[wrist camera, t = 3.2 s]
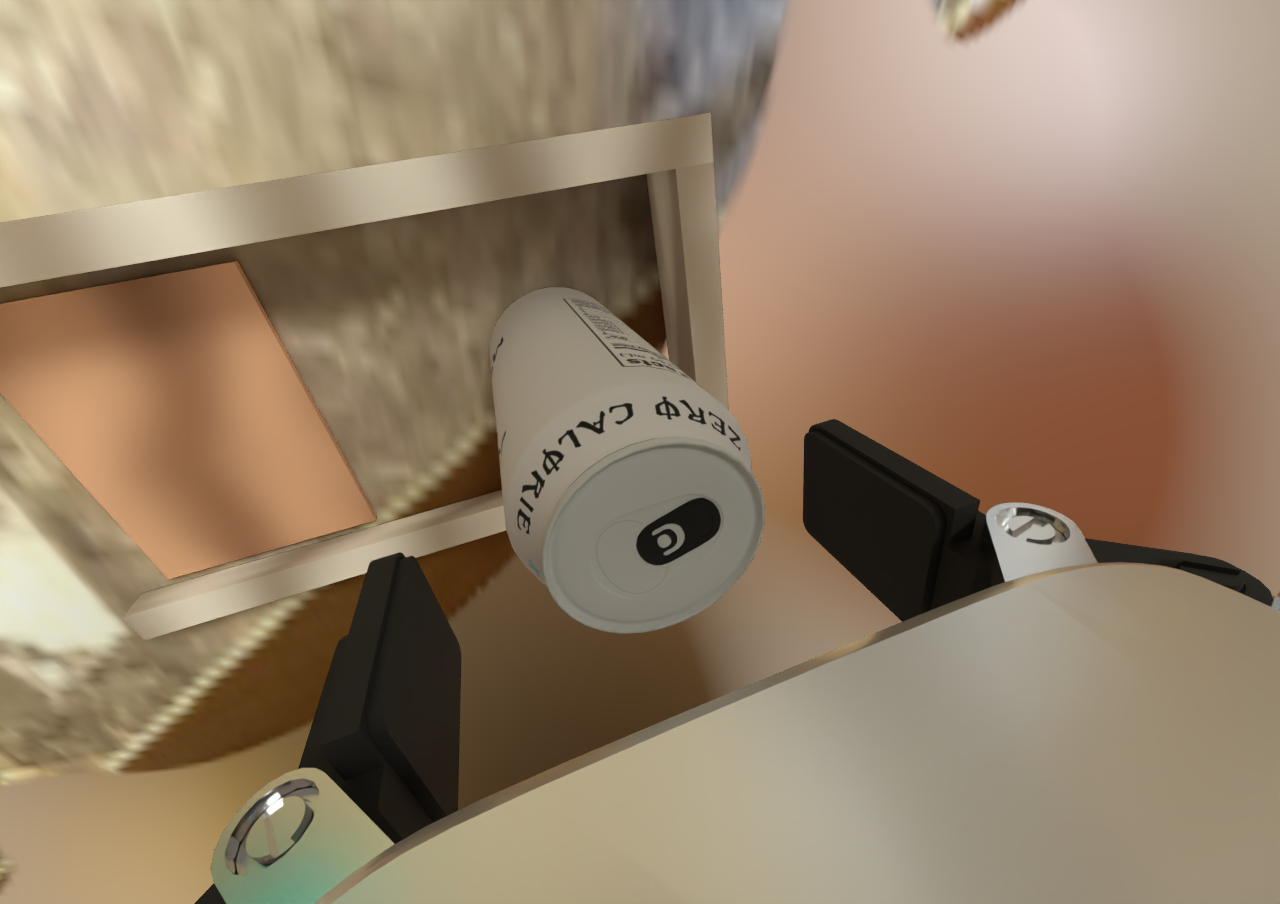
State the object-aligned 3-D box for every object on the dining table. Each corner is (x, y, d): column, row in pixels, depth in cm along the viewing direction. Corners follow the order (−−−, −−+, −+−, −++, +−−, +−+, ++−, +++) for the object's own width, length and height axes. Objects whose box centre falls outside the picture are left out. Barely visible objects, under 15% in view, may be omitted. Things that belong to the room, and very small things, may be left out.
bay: (675, 125, 20) (710, 112, 17) (705, 454, 28) (733, 484, 25) (-179, 260, 15) (-344, 276, 12) (163, 615, 23) (116, 678, 20)
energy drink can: (461, 324, 21) (439, 521, 8) (582, 258, 21) (746, 350, 8) (532, 431, 24) (597, 692, 11) (636, 373, 24) (815, 564, 12)
